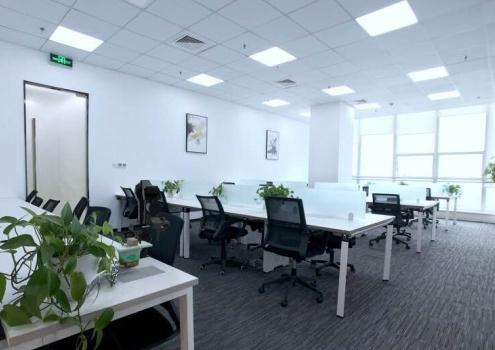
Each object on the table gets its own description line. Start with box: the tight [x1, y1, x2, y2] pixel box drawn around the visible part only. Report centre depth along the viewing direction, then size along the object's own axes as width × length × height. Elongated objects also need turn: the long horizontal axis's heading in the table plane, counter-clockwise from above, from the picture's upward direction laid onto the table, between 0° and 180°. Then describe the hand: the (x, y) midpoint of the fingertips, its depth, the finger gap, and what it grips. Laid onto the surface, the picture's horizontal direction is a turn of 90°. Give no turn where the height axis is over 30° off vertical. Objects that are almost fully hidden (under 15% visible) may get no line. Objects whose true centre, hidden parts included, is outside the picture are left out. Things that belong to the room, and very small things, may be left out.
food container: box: [116, 248, 142, 269], centre depth 138 cm, size 12×6×10 cm, turn 143°
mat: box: [115, 265, 166, 284], centre depth 129 cm, size 13×20×1 cm, turn 137°
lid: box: [114, 237, 153, 252], centre depth 138 cm, size 10×16×4 cm, turn 137°
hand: (149, 242), depth 137 cm, fingers open, 9 cm apart
